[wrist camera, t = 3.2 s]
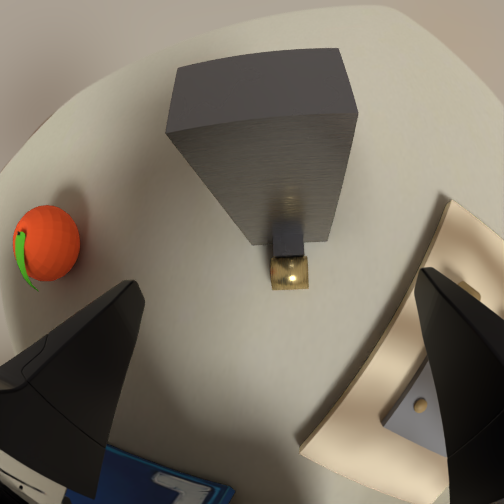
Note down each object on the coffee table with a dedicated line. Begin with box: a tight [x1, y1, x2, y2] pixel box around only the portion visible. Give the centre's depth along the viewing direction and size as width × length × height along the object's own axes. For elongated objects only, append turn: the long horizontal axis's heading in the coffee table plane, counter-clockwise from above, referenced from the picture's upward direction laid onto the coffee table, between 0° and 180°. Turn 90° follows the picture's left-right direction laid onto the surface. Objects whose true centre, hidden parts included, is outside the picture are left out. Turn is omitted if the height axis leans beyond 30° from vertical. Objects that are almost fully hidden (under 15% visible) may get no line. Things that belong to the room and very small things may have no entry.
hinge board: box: [299, 200, 504, 504], centre depth 15 cm, size 22×14×3 cm, turn 146°
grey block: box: [165, 48, 358, 290], centre depth 14 cm, size 6×6×14 cm
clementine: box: [13, 205, 80, 291], centre depth 22 cm, size 8×7×7 cm
